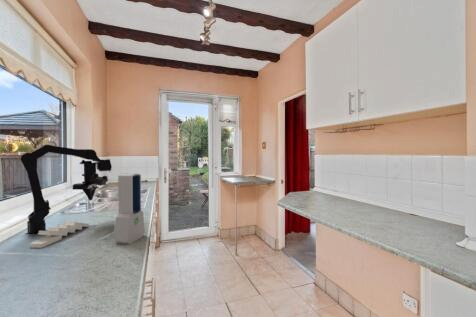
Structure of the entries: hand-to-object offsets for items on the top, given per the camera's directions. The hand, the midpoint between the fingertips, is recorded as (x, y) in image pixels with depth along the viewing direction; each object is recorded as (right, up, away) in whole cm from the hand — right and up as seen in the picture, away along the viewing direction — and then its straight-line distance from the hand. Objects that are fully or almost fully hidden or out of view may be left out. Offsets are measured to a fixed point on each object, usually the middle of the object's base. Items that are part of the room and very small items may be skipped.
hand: (90, 200), depth 130 cm
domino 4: (0, -12, -12) cm, 17 cm away
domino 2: (0, -12, -25) cm, 28 cm away
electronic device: (+33, -14, -24) cm, 43 cm away
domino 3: (0, -12, -16) cm, 20 cm away
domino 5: (+1, -12, -7) cm, 14 cm away
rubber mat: (0, -14, -16) cm, 21 cm away
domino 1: (0, -12, -21) cm, 24 cm away
